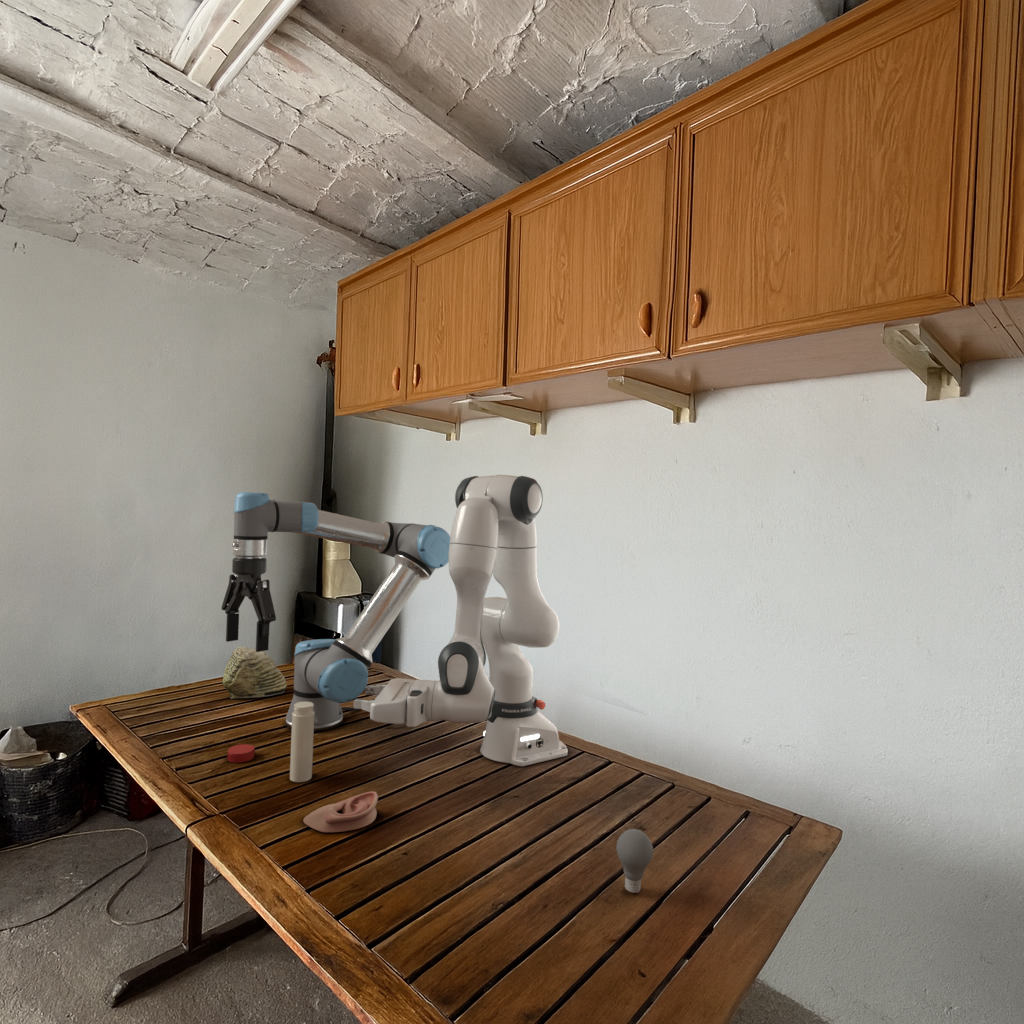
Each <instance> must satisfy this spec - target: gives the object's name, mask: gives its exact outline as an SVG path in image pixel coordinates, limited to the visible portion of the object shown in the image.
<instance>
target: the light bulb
mask: <svg viewBox="0 0 1024 1024" xmlns="http://www.w3.org/2000/svg"><path fill="white" fill-rule="evenodd" d="M615 849H616V854H617V857H618V859H619V861H620V863H621V865H622V867H623V873H624V874H623V875H624V876H625V878H624V888H625V890H627V891H628V892H630V893H634V894H635V893H639V892H640V891H641V889H642V887H641V886H642V879H643V877H644V875H645V871H646V868H647V867H648V866H649V864H650V863H651V861H652V859H653V855H654V847H653V843H652V841H651V838H649V836H648V835H647V834H646V833H645V832H643V831H642V830H641V829H636V828H629V829H627V830H625V831H623V832H622V833H621V834H620V835H619V837H618V839H617V841H616V847H615Z"/></svg>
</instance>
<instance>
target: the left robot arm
mask: <svg viewBox="0 0 1024 1024" xmlns="http://www.w3.org/2000/svg"><path fill="white" fill-rule="evenodd" d="M268 533H293V534H298V535H304V536H308V537H314V538H319V539H322V540H323V539H324V540H329V541H333V542H339V543H344V544H349V545H353V546H359V547H363V548H368V549H373V551H374V552H375V553H377V554H381V555H385V556H389V557H391V558H394V565H393V566H392V568H391V569H390V571H389V572H388V574H387V575H386V577H385V578H384V580H383V581H382V582H381V583H380V585H379V586H378V588H377V590H376V591H375V593H374V594H373V596H372V597H371V598H370V600H369V601H368V603H367V604H366V605H365V607H364V608H363V610H362V611H361V612H360V613H359V615H358V616H357V618H356V619H355V621H354V623H353V624H352V625H351V627H350V628H349V630H348V632H347V633H346V634H345V635H344V636H341V637H339V638H336V639H334V638H323V639H322V638H319V639H307V640H303V641H299V642H297V644H296V645H295V650H294V653H293V654H294V655H293V656H294V672H293V695H292V696H293V697H292V699H291V702H290V704H289V708H288V711H287V713H286V715H285V726H286V728H287V729H289V730H291V728H292V713H293V712H294V704H295V703H298V702H312V703H313V704H314V706H313V711H314V712H315V713H314V733H316V732H325V731H329V730H332V729H335V728H337V727H339V726H340V725H342V723H343V722H344V714H343V711H344V712H345V711H349V712H354V711H358V710H359V709H355V708H354V707H353V706H341V704H344V703H348V702H351V701H354V700H356V699H357V698H358V697H359V696H360V695H362V694H363V692H364V691H365V689H366V688H367V686H368V682H369V669H370V668H371V667H372V665H373V656H372V655H373V653H374V652H375V650H376V648H377V647H378V645H379V644H380V643H381V641H382V640H383V638H384V636H385V635H386V633H387V632H388V631H389V629H390V628H391V626H392V624H393V623H394V621H395V620H396V619H397V617H398V615H400V613H401V611H402V610H403V608H404V607H405V605H406V603H408V600H409V599H410V598H411V596H412V595H413V593H414V592H415V590H416V589H417V587H418V586H419V584H420V583H421V582H422V581H426V580H429V579H430V578H431V576H432V575H433V574H434V572H435V570H436V569H440V568H443V567H445V566H447V565H448V564H449V562H448V553H449V544H451V543H450V536H451V534H449V533H448V532H447V531H446V529H444V528H442V527H440V526H437V525H433V524H420V523H413V522H412V523H408V522H407V523H406V522H405V523H404V522H402V523H401V522H400V523H399V522H391V521H386V520H382V521H380V522H375V521H370V520H365V519H361V518H357V517H354V516H353V517H352V516H348V515H344V514H339V513H335V512H330V511H326V510H322V509H319V508H318V507H317V505H316V503H314V502H305V501H286V500H277V499H270V495H269V493H267V492H249V491H240V492H237V494H236V495H235V498H234V508H233V543H232V544H231V545H232V555H233V556H234V557H233V558H232V565H231V572H232V574H229V579H228V584H227V588H226V591H225V595H224V598H223V601H222V604H221V610H222V611H224V613H225V615H226V627H225V628H226V629H225V642H228V643H229V642H235V641H239V629H240V610H239V609H240V607H241V605H242V604H243V602H244V600H245V598H247V599H248V600H250V601H251V604H252V606H253V609H254V611H255V615H256V618H257V621H256V634H255V636H256V637H255V649H256V652H260V651H264V652H265V651H269V644H270V643H269V642H270V624H271V623H272V622H275V621H276V620H277V616H276V615H277V614H276V611H275V607H274V602H273V598H272V594H271V589H270V587H271V585H270V580H269V579H262V575H264V574H265V573H266V572H267V562H268V561H267V558H266V556H267V555H268V538H269V537H268ZM370 700H375V698H372V699H370ZM370 700H368V701H370Z"/></svg>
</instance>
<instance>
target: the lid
mask: <svg viewBox="0 0 1024 1024" xmlns="http://www.w3.org/2000/svg"><path fill="white" fill-rule="evenodd" d="M255 750H256V749H255V746H254V745H252V744H247V743H246V744H245V743H243V744H236V745H233V746H231V747H229V748H228V749H227V753H226V755H227V756H226V759H227V761H228V762H230V763H234V764H238V763H245V762H249V761H251V760H253V759H254V757H255V755H256V754H255V753H256V751H255Z"/></svg>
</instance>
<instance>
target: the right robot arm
mask: <svg viewBox="0 0 1024 1024" xmlns="http://www.w3.org/2000/svg"><path fill="white" fill-rule="evenodd" d="M543 497H544V496H543V490H542V487H541V485H540V484H539V482H538V481H537V480H536V479H535V478H533V477H529V476H525V475H519V476H518V475H511V474H510V475H509V474H496V475H483V476H478V475H473V476H469V477H466V478H464V479H462V480H461V481H460V483H459V484H458V486H457V488H456V490H455V494H454V502H455V506H456V511H455V515H454V519H453V522H452V527H451V532H450V543H451V544H449V553H448V573H449V576H450V578H451V580H452V582H453V584H454V587H455V592H456V597H457V598H456V612H455V620H454V621H455V622H454V631H453V634H452V637H451V639H450V640H449V642H448V644H446V645H445V646H444V647H443V648H442V649H441V651H440V652H439V655H438V657H437V658H438V659H437V668H438V673H439V674H438V677H439V680H438V679H437V680H436V679H418V678H417V679H411V678H400V677H395V678H394V677H393V678H391V679H390V680H389V681H388V682H387V683H385V684H384V683H383V684H378V685H366V687H365V689H364V691H365V695H366V696H374V695H377V696H376V697H375V698H374V699H375V700H372V699H370V701H369V700H366V699H364V698H358V697H357V698H355V699H354V700H353V706H352V707H354V708H355V709H358V710H362V711H365V712H366V713H367V712H368V713H369V719H370V720H371V721H373V722H376V723H381V724H382V723H383V724H390V725H391V724H392V725H403V724H405V726H406V727H408V728H416V727H418V726H419V725H421V724H423V723H427V722H433V723H434V722H439V721H446V722H450V723H452V724H478V723H482V722H485V721H486V724H485V730H484V731H483V739H482V742H481V746H480V748H479V752H480V754H481V755H482V756H483V757H485V758H486V759H489V760H490V761H491V760H492V761H494V762H499V763H505V764H511V765H514V766H517V767H526V766H530V765H534V764H539V763H542V762H547V761H551V760H555V759H559V758H563V757H567V756H568V754H569V753H568V751H569V750H568V747H567V745H566V744H565V743H564V742H563V741H561V739H560V735H559V730H558V727H556V725H555V724H554V723H553V721H551V720H550V719H549V718H548V717H547V716H545V715H544V714H543V713H541V712H540V711H539V710H545V708H546V702H545V701H544V700H542V699H538V698H537V697H535V696H533V686H534V685H533V681H534V668H533V666H532V664H531V662H530V661H529V660H528V658H526V656H525V655H524V654H523V652H522V650H521V647H526V648H530V649H532V648H533V649H537V648H538V649H539V648H548V647H550V646H551V645H553V644H554V642H555V641H556V640H557V638H558V636H559V632H560V628H561V627H560V626H561V625H560V619H559V617H558V614H557V612H556V611H555V610H554V609H553V608H552V607H551V605H550V604H549V603H548V602H547V600H546V598H545V596H544V594H543V592H542V589H541V586H540V583H539V579H538V563H537V562H538V559H537V556H538V555H537V553H538V552H537V551H538V548H537V546H538V545H537V544H538V540H537V539H538V538H537V536H538V535H537V525H536V518H537V516H538V515H539V513H540V512H541V509H542V507H543V500H544V498H543ZM492 576H493V578H494V580H495V581H496V582H497V583H498V584H499V585H500V586H501V587H502V589H503V590H504V592H505V595H506V597H500V596H487V597H486V593H487V591H488V587H489V585H490V582H491V581H492ZM520 646H521V647H520ZM486 661H487V662H488V671H489V672H488V673H489V674H487V671H486V669H485V666H486ZM488 676H489V677H488Z"/></svg>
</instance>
